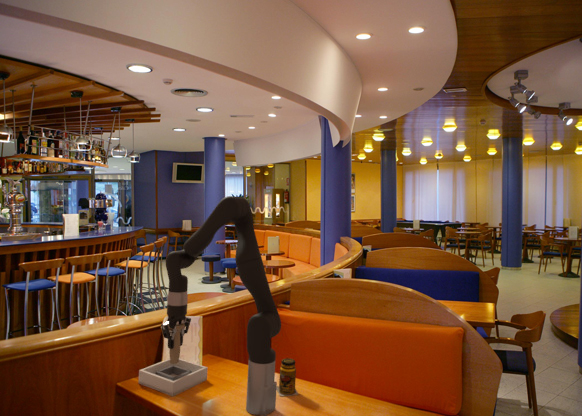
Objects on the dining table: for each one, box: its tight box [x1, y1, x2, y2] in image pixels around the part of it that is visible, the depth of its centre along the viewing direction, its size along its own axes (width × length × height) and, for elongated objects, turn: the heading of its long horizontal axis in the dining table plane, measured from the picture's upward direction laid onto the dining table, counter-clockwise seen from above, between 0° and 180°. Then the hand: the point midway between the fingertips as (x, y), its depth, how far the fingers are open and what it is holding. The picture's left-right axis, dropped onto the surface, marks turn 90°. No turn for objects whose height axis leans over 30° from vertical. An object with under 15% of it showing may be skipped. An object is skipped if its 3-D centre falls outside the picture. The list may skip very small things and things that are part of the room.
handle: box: [169, 324, 186, 364], centre depth 165 cm, size 5×6×15 cm
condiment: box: [276, 357, 300, 397], centre depth 163 cm, size 7×8×12 cm
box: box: [137, 357, 209, 397], centre depth 166 cm, size 18×18×5 cm
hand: (175, 346), depth 165 cm, fingers closed on handle, 4 cm apart
